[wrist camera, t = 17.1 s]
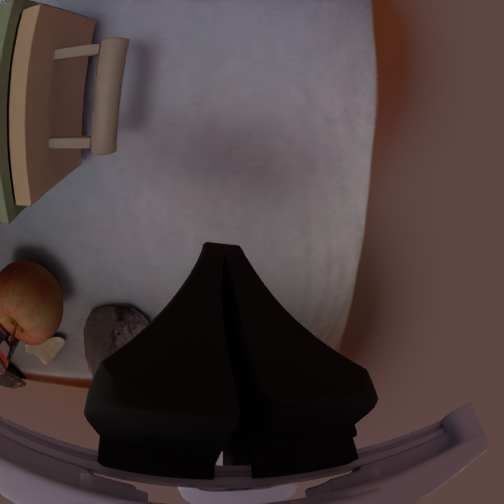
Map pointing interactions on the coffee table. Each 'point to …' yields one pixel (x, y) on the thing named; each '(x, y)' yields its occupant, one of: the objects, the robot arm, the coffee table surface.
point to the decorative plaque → (11, 379)
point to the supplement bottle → (6, 348)
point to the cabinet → (3, 32)
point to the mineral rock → (110, 332)
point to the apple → (30, 302)
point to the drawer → (58, 98)
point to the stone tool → (46, 349)
